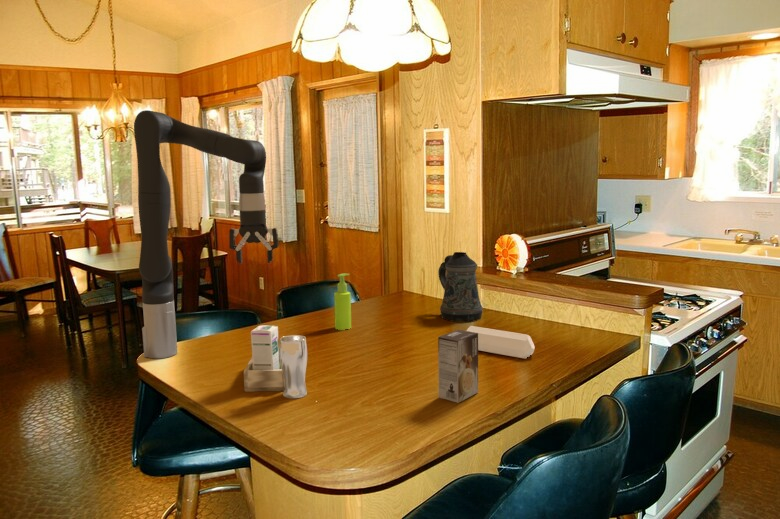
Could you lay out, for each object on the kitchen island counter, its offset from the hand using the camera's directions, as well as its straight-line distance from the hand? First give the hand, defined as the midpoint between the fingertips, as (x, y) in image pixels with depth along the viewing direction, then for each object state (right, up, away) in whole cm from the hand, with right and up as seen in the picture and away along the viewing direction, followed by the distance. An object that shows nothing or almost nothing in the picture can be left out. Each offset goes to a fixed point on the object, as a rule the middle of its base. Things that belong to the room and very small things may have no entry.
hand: (255, 262), depth 181 cm
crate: (+7, -32, -12) cm, 35 cm away
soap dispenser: (+24, -24, +40) cm, 53 cm away
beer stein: (+67, -21, +55) cm, 89 cm away
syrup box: (+7, -32, -16) cm, 37 cm away
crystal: (+75, -28, +10) cm, 80 cm away
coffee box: (+58, -34, -26) cm, 72 cm away
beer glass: (+16, -34, -24) cm, 45 cm away
